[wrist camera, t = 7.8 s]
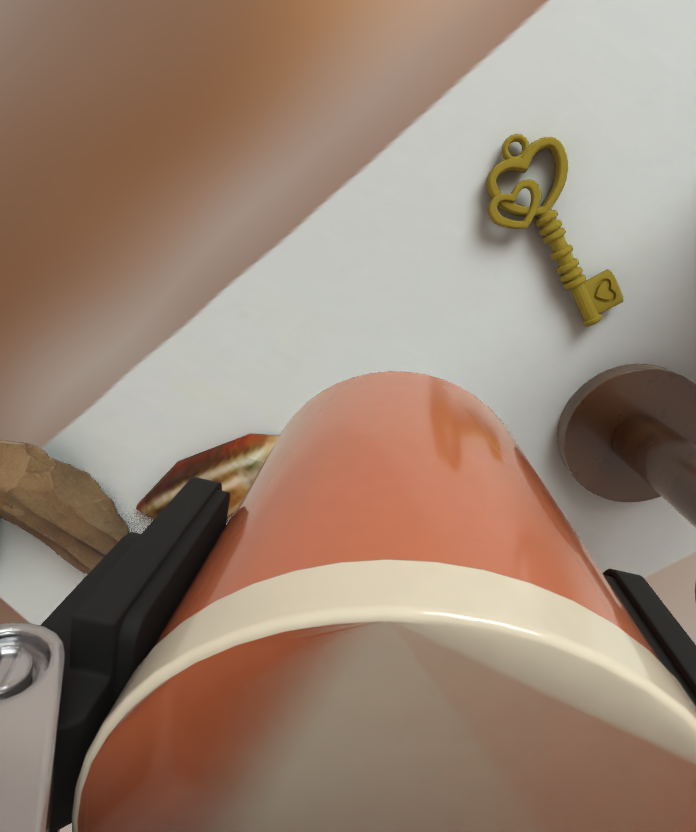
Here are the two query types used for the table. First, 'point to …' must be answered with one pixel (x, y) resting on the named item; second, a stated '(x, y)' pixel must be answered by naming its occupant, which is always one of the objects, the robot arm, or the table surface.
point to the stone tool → (58, 505)
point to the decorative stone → (214, 472)
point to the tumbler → (396, 650)
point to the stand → (634, 436)
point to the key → (551, 225)
